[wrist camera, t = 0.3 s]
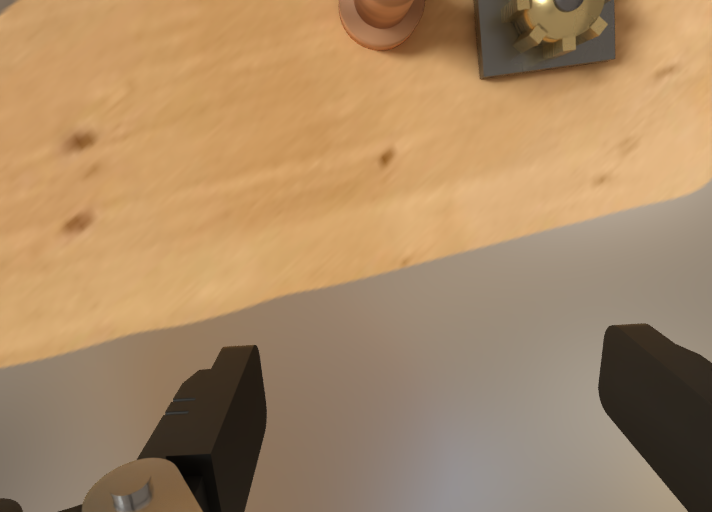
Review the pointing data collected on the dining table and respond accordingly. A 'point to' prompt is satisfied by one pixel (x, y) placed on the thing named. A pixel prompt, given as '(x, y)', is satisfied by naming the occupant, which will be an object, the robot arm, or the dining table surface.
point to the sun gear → (554, 24)
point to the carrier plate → (507, 60)
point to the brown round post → (380, 21)
